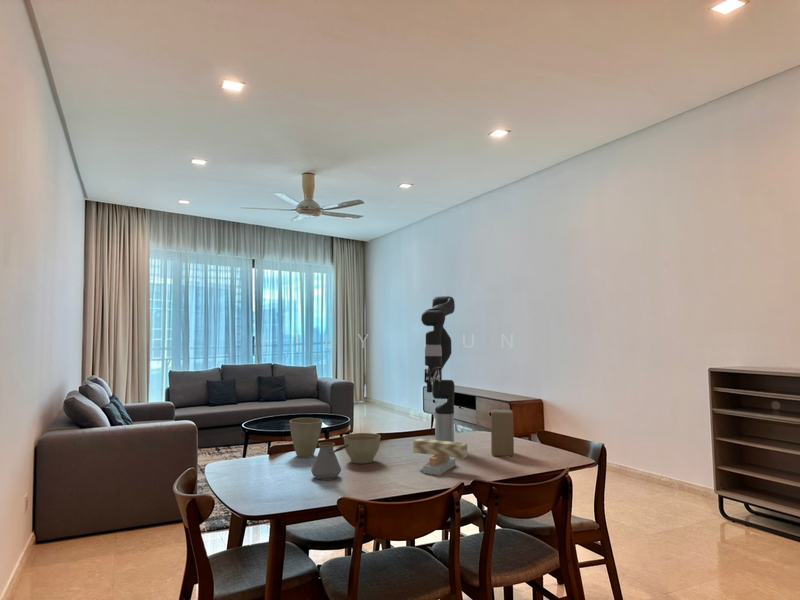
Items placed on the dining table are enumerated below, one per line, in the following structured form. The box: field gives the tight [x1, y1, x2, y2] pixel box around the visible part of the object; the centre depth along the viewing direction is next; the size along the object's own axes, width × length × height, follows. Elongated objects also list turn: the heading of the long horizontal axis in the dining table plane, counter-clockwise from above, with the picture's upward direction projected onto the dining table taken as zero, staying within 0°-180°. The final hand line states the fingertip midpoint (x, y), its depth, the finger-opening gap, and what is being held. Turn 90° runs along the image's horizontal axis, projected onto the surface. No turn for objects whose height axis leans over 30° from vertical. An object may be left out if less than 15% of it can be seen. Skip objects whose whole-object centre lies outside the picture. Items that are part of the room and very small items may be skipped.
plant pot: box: [289, 417, 324, 458], centre depth 231 cm, size 15×15×16 cm
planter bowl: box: [343, 432, 381, 465], centre depth 221 cm, size 16×16×11 cm
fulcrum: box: [422, 455, 456, 476], centre depth 209 cm, size 18×7×6 cm, turn 154°
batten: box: [412, 437, 468, 459], centre depth 209 cm, size 22×5×5 cm, turn 63°
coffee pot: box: [311, 441, 351, 481], centre depth 192 cm, size 21×12×15 cm, turn 38°
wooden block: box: [490, 408, 515, 458], centre depth 236 cm, size 10×10×20 cm
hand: (433, 391), depth 225 cm, fingers open, 8 cm apart
